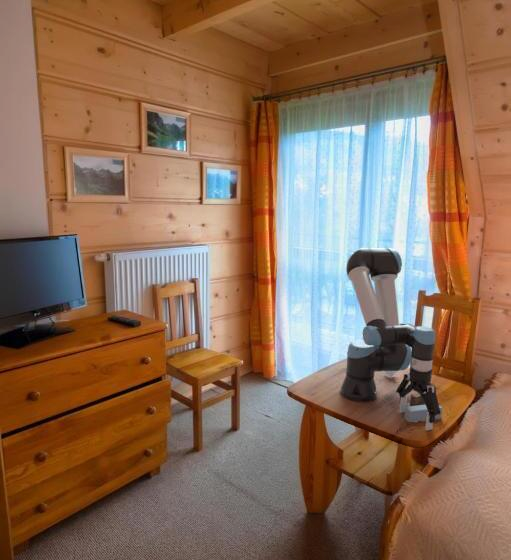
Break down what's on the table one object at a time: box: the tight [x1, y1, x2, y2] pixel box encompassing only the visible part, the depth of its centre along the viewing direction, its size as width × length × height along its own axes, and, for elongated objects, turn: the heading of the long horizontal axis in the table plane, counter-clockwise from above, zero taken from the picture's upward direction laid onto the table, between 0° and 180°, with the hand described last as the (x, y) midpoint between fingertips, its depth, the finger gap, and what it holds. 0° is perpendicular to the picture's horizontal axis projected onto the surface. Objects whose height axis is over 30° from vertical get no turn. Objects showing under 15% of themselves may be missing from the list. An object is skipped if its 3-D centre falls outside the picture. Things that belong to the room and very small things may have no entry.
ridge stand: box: [407, 392, 426, 407], centre depth 173 cm, size 10×7×6 cm
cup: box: [384, 371, 397, 379], centre depth 205 cm, size 7×10×8 cm
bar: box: [404, 404, 443, 423], centre depth 165 cm, size 4×14×5 cm, turn 106°
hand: (415, 420), depth 164 cm, fingers open, 13 cm apart
